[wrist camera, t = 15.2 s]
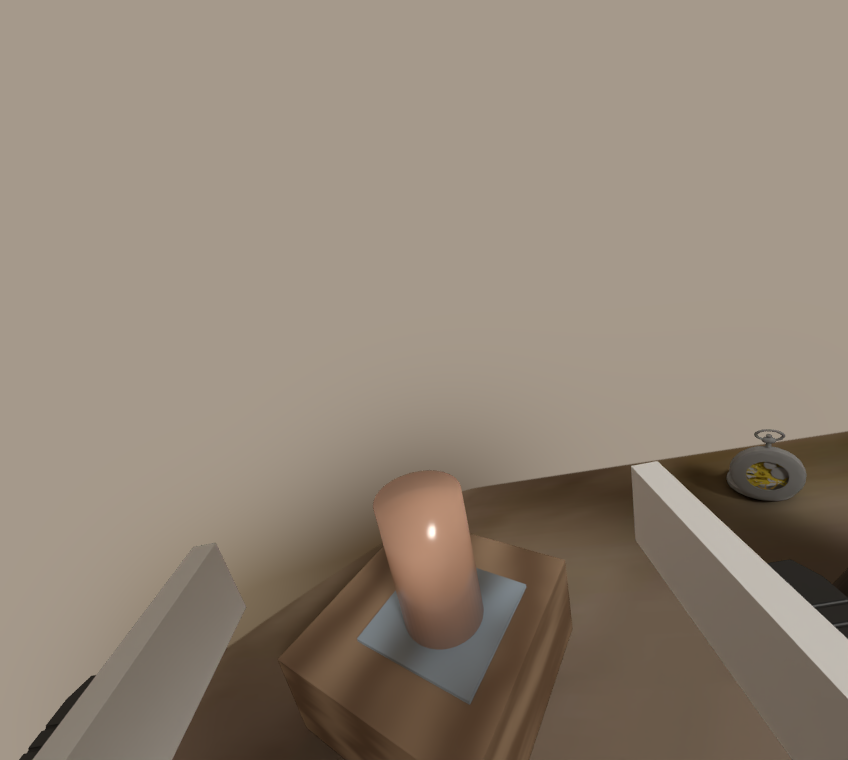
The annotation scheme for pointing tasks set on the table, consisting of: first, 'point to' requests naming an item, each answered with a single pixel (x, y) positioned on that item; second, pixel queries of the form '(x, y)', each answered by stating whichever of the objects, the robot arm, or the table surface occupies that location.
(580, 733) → the table surface
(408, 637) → the walnut box
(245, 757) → the table surface
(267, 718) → the table surface
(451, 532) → the terracotta cylinder
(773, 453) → the pocket watch
